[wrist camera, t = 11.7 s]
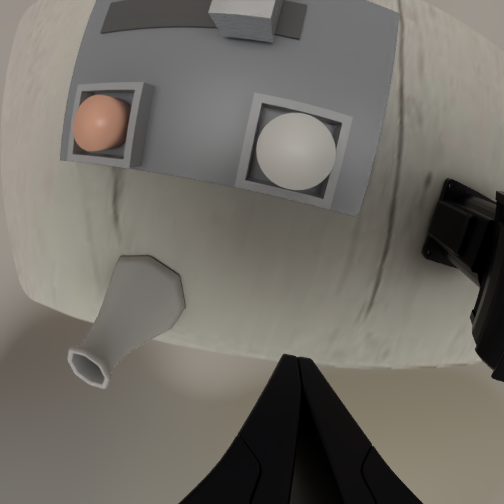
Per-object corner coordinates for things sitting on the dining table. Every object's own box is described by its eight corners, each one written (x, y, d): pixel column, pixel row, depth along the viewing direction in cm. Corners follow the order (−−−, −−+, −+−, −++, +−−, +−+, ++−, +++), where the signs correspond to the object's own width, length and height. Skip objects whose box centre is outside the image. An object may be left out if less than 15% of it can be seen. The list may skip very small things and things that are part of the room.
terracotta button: (137, 97, 15) (121, 94, 13) (128, 151, 16) (112, 153, 14) (94, 98, 15) (77, 95, 13) (87, 147, 16) (69, 149, 14)
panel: (389, 23, 13) (407, 5, 10) (350, 210, 19) (364, 224, 15) (113, -4, 13) (91, -19, 10) (75, 157, 19) (46, 162, 15)
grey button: (335, 127, 13) (343, 124, 11) (319, 191, 14) (325, 198, 13) (267, 110, 13) (265, 104, 11) (253, 175, 14) (249, 180, 13)
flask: (112, 310, 24) (54, 380, 15) (113, 242, 21) (33, 302, 12) (181, 336, 24) (140, 422, 15) (193, 267, 21) (138, 353, 12)
